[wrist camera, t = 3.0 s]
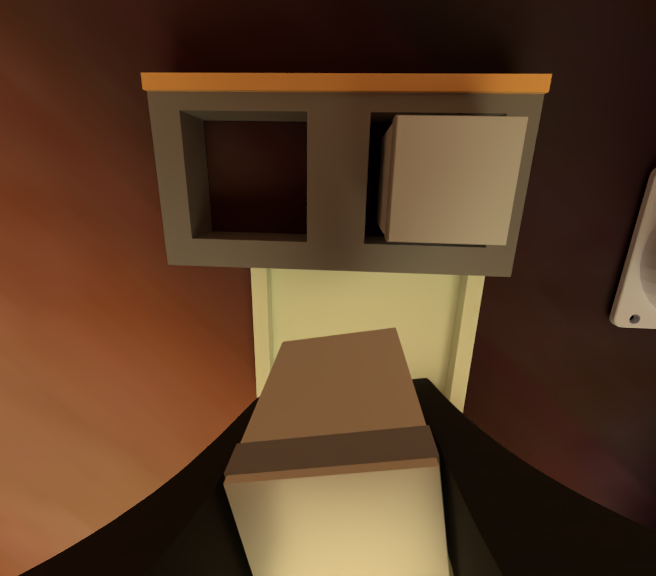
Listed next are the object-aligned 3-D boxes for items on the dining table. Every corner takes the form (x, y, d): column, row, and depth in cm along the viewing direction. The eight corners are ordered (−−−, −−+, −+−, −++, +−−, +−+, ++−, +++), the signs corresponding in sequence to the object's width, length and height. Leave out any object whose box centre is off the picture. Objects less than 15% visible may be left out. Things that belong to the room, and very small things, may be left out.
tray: (477, 248, 18) (488, 254, 16) (454, 406, 21) (461, 422, 19) (257, 241, 18) (249, 246, 17) (263, 395, 21) (257, 410, 20)
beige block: (467, 138, 16) (530, 115, 11) (456, 225, 18) (507, 246, 12) (380, 137, 17) (396, 113, 11) (375, 223, 18) (387, 242, 12)
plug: (397, 325, 12) (441, 463, 6) (408, 424, 13) (455, 618, 7) (280, 340, 12) (220, 482, 6) (302, 435, 13) (266, 626, 8)
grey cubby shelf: (517, 92, 16) (551, 74, 13) (489, 264, 18) (513, 278, 15) (174, 90, 16) (140, 72, 14) (191, 254, 19) (164, 266, 16)
